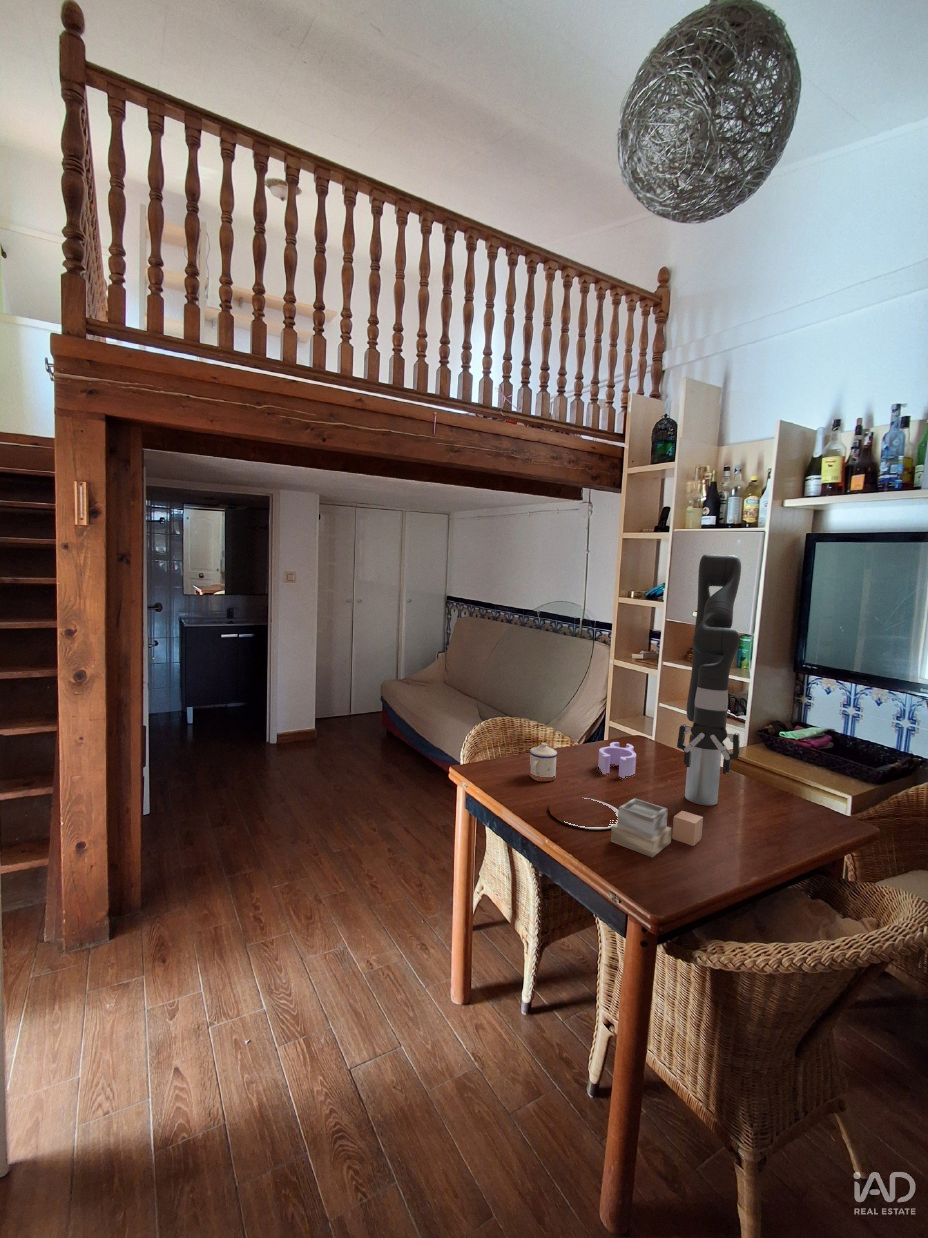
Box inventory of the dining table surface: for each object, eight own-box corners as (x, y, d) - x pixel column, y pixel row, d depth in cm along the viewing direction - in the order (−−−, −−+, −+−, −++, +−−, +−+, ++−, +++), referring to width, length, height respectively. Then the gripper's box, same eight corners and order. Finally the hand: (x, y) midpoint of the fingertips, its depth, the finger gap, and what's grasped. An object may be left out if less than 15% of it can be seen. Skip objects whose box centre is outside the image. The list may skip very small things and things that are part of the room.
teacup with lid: (535, 771, 191) (537, 737, 190) (560, 777, 186) (562, 743, 185) (519, 781, 181) (521, 746, 180) (544, 787, 176) (546, 751, 175)
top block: (680, 832, 149) (681, 810, 148) (701, 839, 145) (703, 817, 145) (672, 838, 145) (673, 816, 144) (693, 846, 141) (695, 823, 141)
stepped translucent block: (630, 828, 150) (632, 795, 149) (670, 843, 142) (673, 808, 142) (610, 841, 142) (613, 807, 141) (652, 857, 134) (655, 821, 134)
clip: (604, 758, 209) (606, 740, 208) (639, 764, 204) (640, 745, 203) (594, 774, 191) (595, 755, 190) (631, 781, 186) (633, 761, 185)
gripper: (744, 708, 139) (738, 773, 140) (684, 700, 147) (679, 761, 147) (740, 713, 133) (735, 780, 134) (678, 703, 141) (673, 767, 141)
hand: (706, 770), depth 141 cm, fingers open, 8 cm apart
